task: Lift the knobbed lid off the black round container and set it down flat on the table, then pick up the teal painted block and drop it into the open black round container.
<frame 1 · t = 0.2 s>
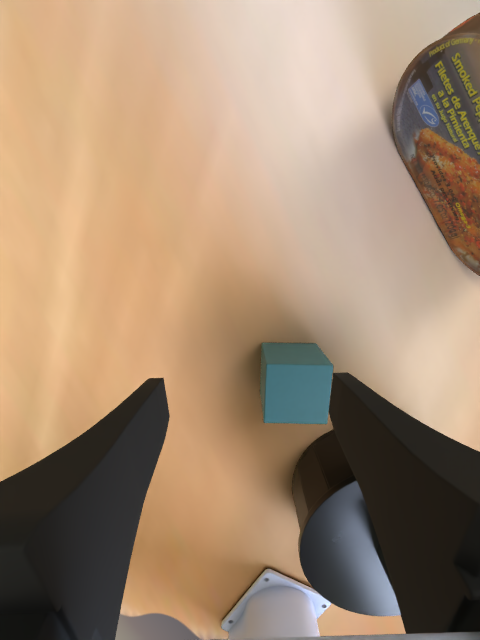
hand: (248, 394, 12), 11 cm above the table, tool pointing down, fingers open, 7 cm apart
lid: (391, 542, 20), point 5 cm above the table, touching black round container
tin: (442, 189, 20), on the table
block: (287, 368, 23), on the table
black round container: (360, 482, 26), on the table
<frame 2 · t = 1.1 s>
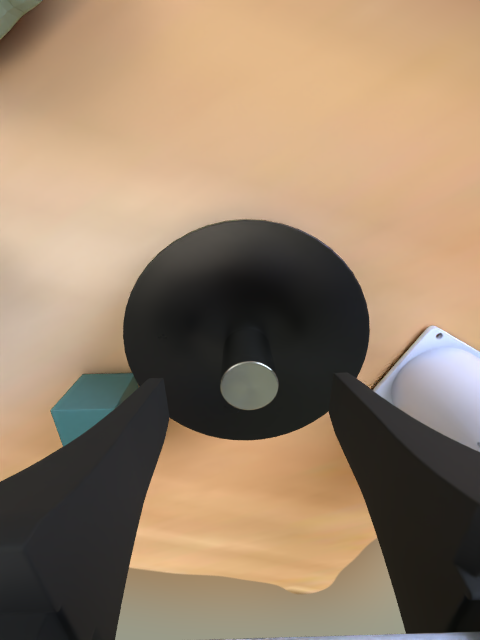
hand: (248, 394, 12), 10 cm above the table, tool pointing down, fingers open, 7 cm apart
lid: (246, 344, 16), point 5 cm above the table, touching black round container
block: (114, 394, 24), on the table
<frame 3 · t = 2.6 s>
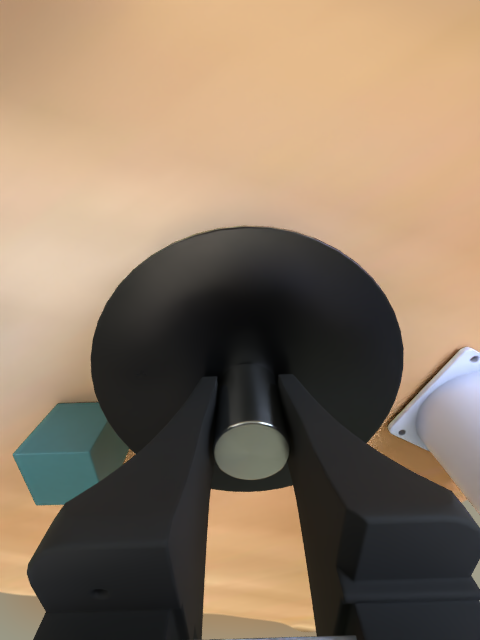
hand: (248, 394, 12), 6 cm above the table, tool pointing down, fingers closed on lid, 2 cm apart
lid: (247, 381, 13), point 5 cm above the table, touching black round container, gripper
block: (95, 425, 21), on the table
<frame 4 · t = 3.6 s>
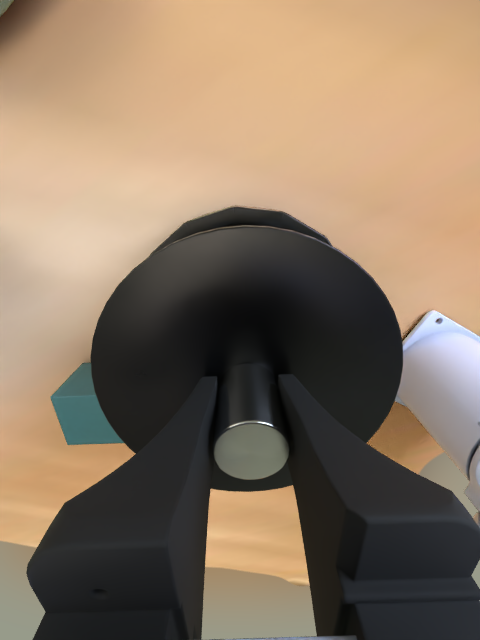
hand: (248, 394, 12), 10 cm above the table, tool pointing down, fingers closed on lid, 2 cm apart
lid: (247, 380, 13), point 9 cm above the table, touching gripper
block: (114, 384, 24), on the table
black round container: (243, 297, 21), on the table
when the fingers open (2 cm above the table, at t = 7.4 s): lid stays where it is, point 1 cm above the table.
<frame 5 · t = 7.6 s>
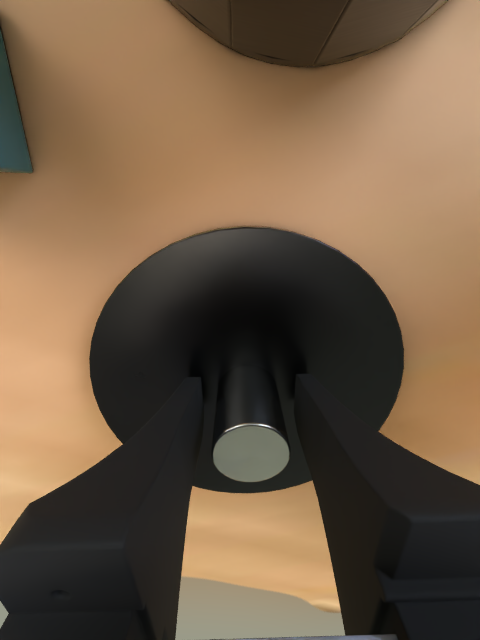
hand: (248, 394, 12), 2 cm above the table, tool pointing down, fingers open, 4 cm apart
lid: (246, 382, 13), point 1 cm above the table
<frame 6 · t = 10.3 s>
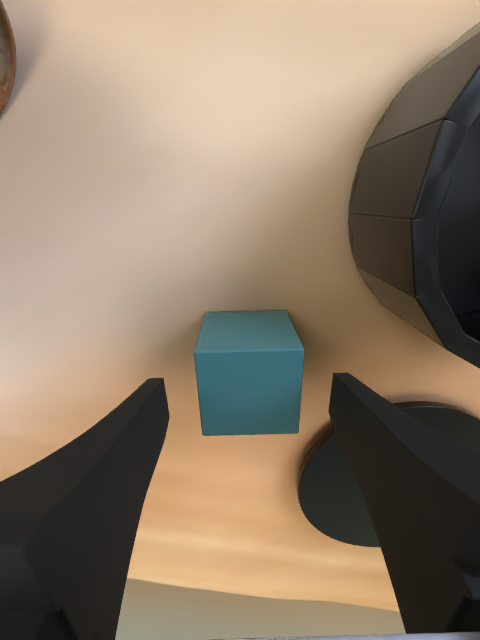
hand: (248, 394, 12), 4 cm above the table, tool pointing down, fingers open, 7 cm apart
lid: (394, 480, 19), point 1 cm above the table
block: (246, 346, 16), on the table
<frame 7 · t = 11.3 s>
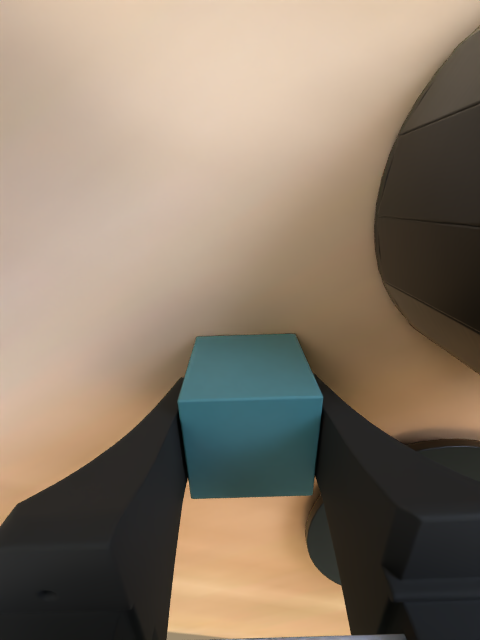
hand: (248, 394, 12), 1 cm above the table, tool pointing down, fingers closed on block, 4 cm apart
lid: (418, 524, 17), point 1 cm above the table
block: (246, 376, 13), on the table, touching gripper
when the fingers open (2 cm above the table, at t = 16.4 s): block stays where it is, resting on black round container.
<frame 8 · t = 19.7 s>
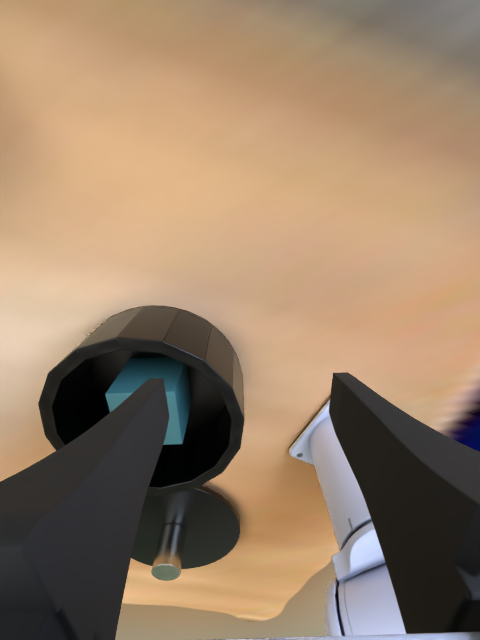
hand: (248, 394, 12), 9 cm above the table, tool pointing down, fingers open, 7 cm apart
lid: (174, 526, 29), point 1 cm above the table
block: (161, 380, 22), resting on black round container
black round container: (163, 378, 23), on the table
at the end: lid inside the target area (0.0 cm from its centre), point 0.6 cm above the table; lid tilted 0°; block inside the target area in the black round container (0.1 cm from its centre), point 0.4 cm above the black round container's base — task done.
